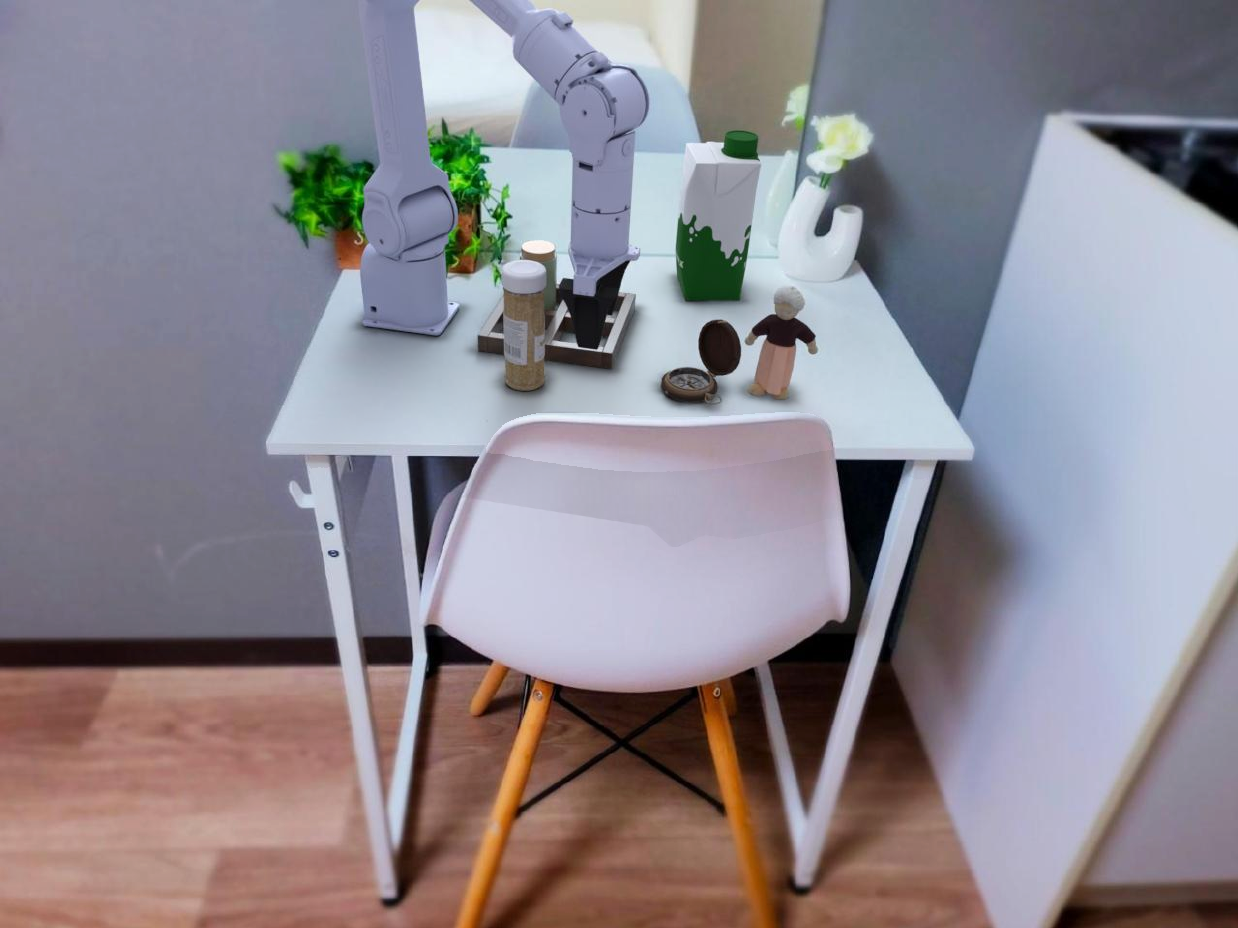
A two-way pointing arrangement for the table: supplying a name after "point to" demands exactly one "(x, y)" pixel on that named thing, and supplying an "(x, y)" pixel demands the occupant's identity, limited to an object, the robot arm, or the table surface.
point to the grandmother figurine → (780, 343)
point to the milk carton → (716, 216)
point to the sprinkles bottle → (524, 324)
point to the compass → (706, 364)
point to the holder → (562, 322)
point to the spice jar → (548, 258)
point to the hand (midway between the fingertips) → (595, 329)
